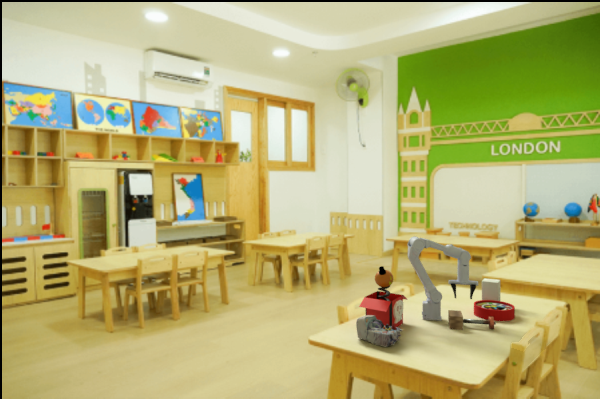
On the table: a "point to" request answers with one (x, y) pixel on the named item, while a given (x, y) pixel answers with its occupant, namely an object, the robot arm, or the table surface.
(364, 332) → the grey lumpy piece
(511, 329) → the table surface
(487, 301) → the toy clock
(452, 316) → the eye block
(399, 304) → the jack-in-the-box
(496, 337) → the table surface
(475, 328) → the table surface
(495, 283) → the supplement box
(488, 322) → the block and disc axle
